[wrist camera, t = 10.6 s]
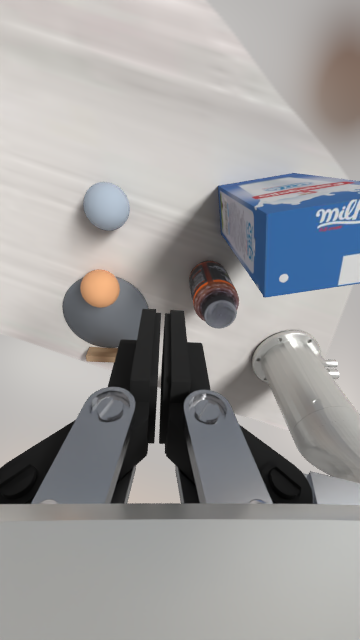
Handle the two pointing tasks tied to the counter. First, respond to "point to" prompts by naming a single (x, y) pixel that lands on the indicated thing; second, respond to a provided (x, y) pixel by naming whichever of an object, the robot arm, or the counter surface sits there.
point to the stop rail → (101, 354)
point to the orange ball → (100, 288)
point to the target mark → (105, 316)
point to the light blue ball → (106, 206)
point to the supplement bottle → (213, 294)
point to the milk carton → (294, 231)
